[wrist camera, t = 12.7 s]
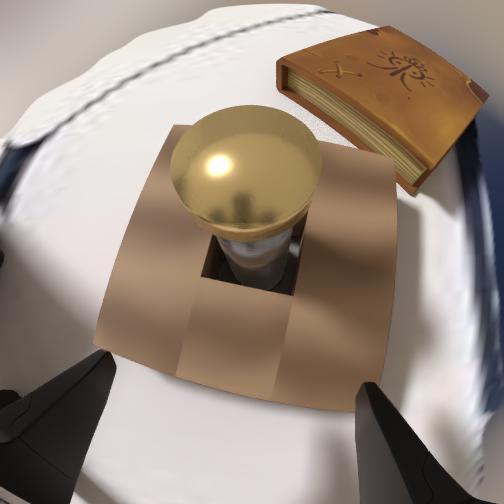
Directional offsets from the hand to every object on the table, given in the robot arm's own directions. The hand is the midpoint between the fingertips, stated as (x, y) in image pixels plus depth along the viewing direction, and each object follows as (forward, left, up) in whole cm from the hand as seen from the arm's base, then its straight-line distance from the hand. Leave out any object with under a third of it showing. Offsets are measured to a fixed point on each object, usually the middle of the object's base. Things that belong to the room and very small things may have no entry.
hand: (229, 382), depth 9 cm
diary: (+31, -11, -12) cm, 35 cm away
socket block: (+7, +1, -11) cm, 13 cm away
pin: (+7, +1, -11) cm, 13 cm away
